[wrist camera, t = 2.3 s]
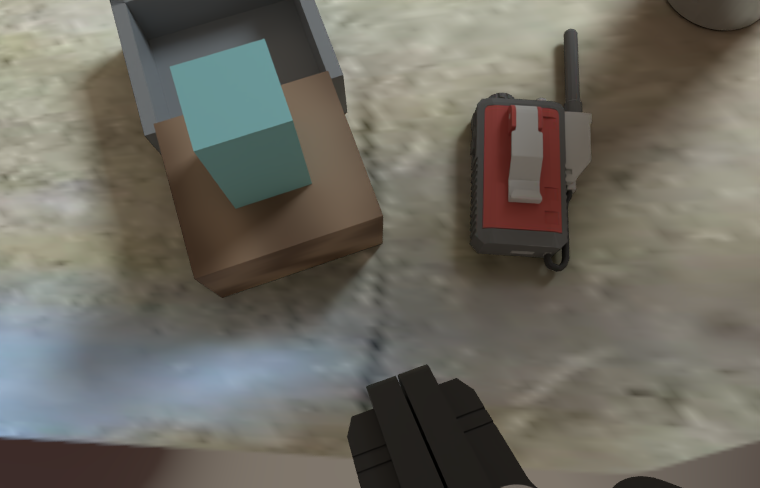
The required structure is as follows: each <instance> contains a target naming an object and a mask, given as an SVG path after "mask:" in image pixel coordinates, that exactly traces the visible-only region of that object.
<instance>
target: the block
mask: <svg viewBox="0 0 760 488" xmlns="http://www.w3.org/2000/svg"><path fill="white" fill-rule="evenodd" d="M170 70H171V73H172V77H173V81H174V84H175V88H176V91H177V95H178V98H179V102H180V105H181V109H182V112H183V116H184V119H185V123H186V126H187V130H188V133H189V137H190V141H191V144H192V148H193V151H194V153H195V154H196V155H197V157H198V158H199V159H200V161H201V162H202V164H203V165H204V166H205V168H206V169H207V170H208V172H209V173H210V175H211V176H212V177H213V179H214V180H215V181H216V183H217V184H218V185H219V187H220V188H221V190H222V191H223V192H224V194H225V195H226V196H227V198H228V199H229V201H230V202H231V203H232V205H233V206H234V207H235V209H236V208H239V207H243V206H246V205H249V204H252V203H255V202H258V201H261V200H264V199H267V198H270V197H273V196H276V195H279V194H283V193H286V192H289V191H292V190H295V189H298V188H301V187H304V186H307V185H310V184H312V182H311V178H310V175H309V172H308V169H307V165H306V162H305V159H304V155H303V152H302V149H301V146H300V142H299V139H298V136H297V132H296V129H295V126H294V123H293V119H292V116H291V114H290V111H289V108H288V105H287V102H286V99H285V96H284V93H283V90H282V88H281V85H280V82H279V79H278V76H277V73H276V70H275V67H274V65H273V62H272V59H271V56H270V53H269V50H268V47H267V44H266V41H265V39H262V40H258V41H255V42H251V43H248V44H245V45H241V46H238V47H235V48H231V49H228V50H224V51H221V52H218V53H214V54H211V55H207V56H204V57H201V58H197V59H194V60H191V61H187V62H184V63H180V64H177V65H174V66H170Z"/></svg>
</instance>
